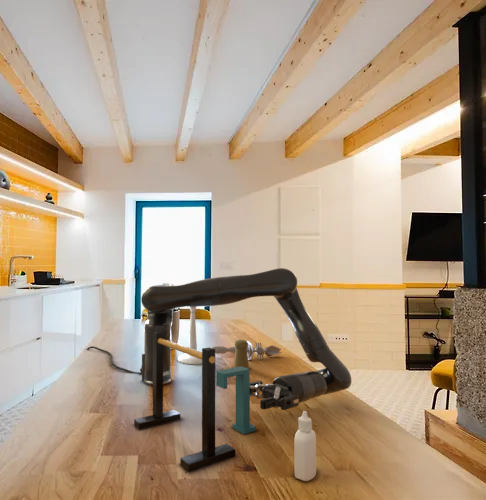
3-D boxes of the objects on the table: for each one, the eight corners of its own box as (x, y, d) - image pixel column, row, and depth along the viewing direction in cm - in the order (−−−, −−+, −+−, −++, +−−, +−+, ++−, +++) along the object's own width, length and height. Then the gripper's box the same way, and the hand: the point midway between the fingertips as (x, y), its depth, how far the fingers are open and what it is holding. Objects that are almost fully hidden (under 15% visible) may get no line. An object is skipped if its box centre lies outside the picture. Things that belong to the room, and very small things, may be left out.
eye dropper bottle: (286, 471, 74) (285, 409, 74) (309, 466, 76) (309, 405, 76) (301, 483, 70) (300, 418, 70) (325, 477, 72) (324, 414, 72)
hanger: (244, 424, 95) (244, 364, 96) (256, 430, 92) (255, 368, 93) (215, 433, 91) (214, 370, 91) (225, 439, 87) (225, 374, 88)
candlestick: (171, 361, 157) (172, 289, 158) (188, 355, 168) (188, 287, 169) (198, 365, 150) (198, 290, 151) (213, 359, 161) (213, 288, 162)
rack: (174, 415, 101) (174, 329, 102) (235, 456, 80) (235, 347, 80) (134, 425, 95) (134, 333, 96) (188, 472, 73) (188, 353, 74)
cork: (249, 371, 143) (249, 342, 143) (233, 370, 144) (233, 341, 145) (249, 366, 149) (249, 338, 149) (233, 366, 150) (233, 338, 151)
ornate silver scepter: (205, 341, 158) (215, 337, 152) (273, 344, 172) (284, 340, 165) (207, 361, 155) (217, 358, 148) (276, 361, 168) (287, 358, 162)
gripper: (274, 368, 109) (230, 376, 100) (315, 381, 96) (270, 392, 88) (274, 394, 108) (230, 405, 100) (316, 411, 96) (270, 425, 88)
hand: (249, 399), depth 94 cm, fingers open, 8 cm apart
